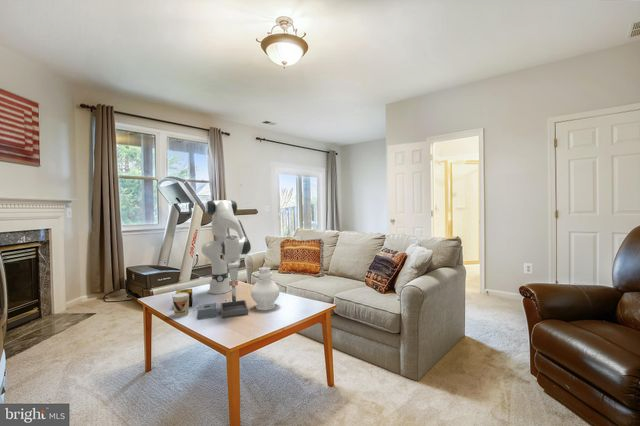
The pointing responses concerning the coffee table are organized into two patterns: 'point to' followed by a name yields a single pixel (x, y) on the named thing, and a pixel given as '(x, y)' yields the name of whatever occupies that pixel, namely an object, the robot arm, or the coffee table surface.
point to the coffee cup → (181, 304)
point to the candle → (188, 293)
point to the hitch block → (207, 311)
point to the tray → (234, 309)
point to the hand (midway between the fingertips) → (233, 284)
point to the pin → (233, 290)
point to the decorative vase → (265, 290)
